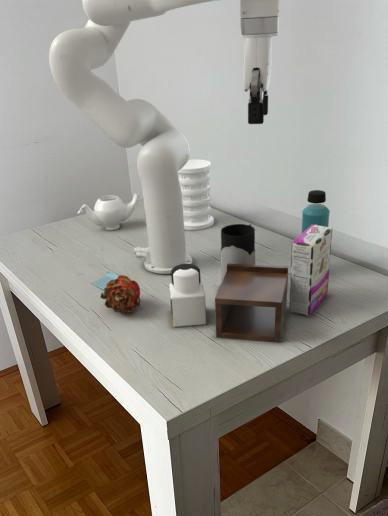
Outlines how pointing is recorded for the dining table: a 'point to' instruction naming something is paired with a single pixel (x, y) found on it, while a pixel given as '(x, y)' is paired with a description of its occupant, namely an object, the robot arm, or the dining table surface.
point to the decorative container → (196, 194)
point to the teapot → (110, 211)
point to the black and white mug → (237, 246)
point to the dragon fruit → (122, 294)
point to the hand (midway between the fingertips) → (258, 119)
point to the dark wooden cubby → (252, 302)
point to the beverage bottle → (315, 210)
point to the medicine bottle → (187, 296)
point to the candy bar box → (310, 269)
